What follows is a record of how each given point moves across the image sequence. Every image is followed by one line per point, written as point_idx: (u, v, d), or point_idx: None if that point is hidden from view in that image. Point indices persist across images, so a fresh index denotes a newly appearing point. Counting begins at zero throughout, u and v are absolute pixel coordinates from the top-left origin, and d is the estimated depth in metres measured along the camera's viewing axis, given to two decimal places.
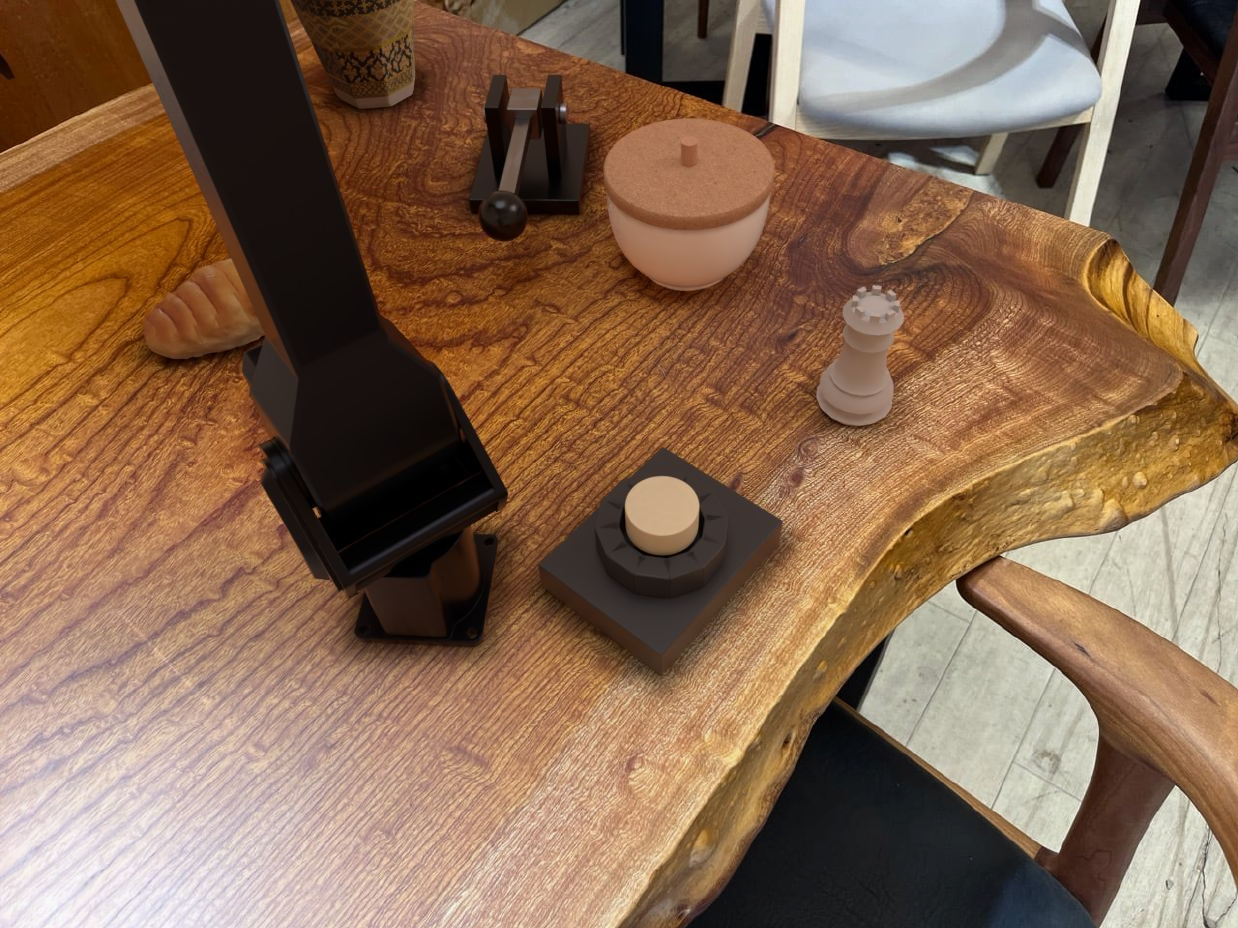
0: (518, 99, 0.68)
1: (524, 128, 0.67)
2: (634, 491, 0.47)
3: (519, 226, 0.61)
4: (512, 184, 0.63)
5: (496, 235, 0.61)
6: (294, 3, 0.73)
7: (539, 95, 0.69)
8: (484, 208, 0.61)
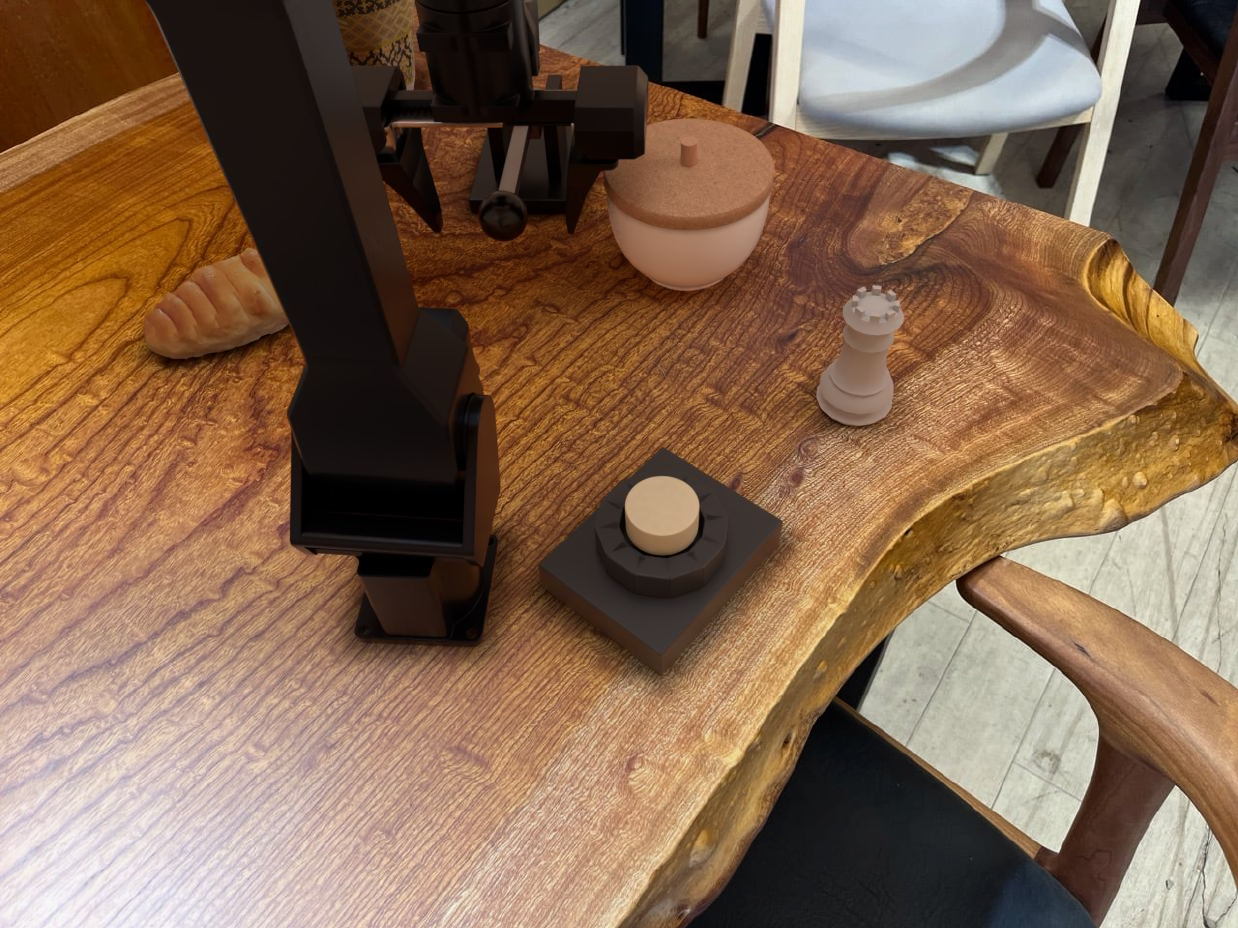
0: None
1: (524, 128, 0.67)
2: (634, 491, 0.47)
3: (519, 226, 0.61)
4: (512, 184, 0.63)
5: (496, 235, 0.61)
6: None
7: None
8: (484, 208, 0.61)
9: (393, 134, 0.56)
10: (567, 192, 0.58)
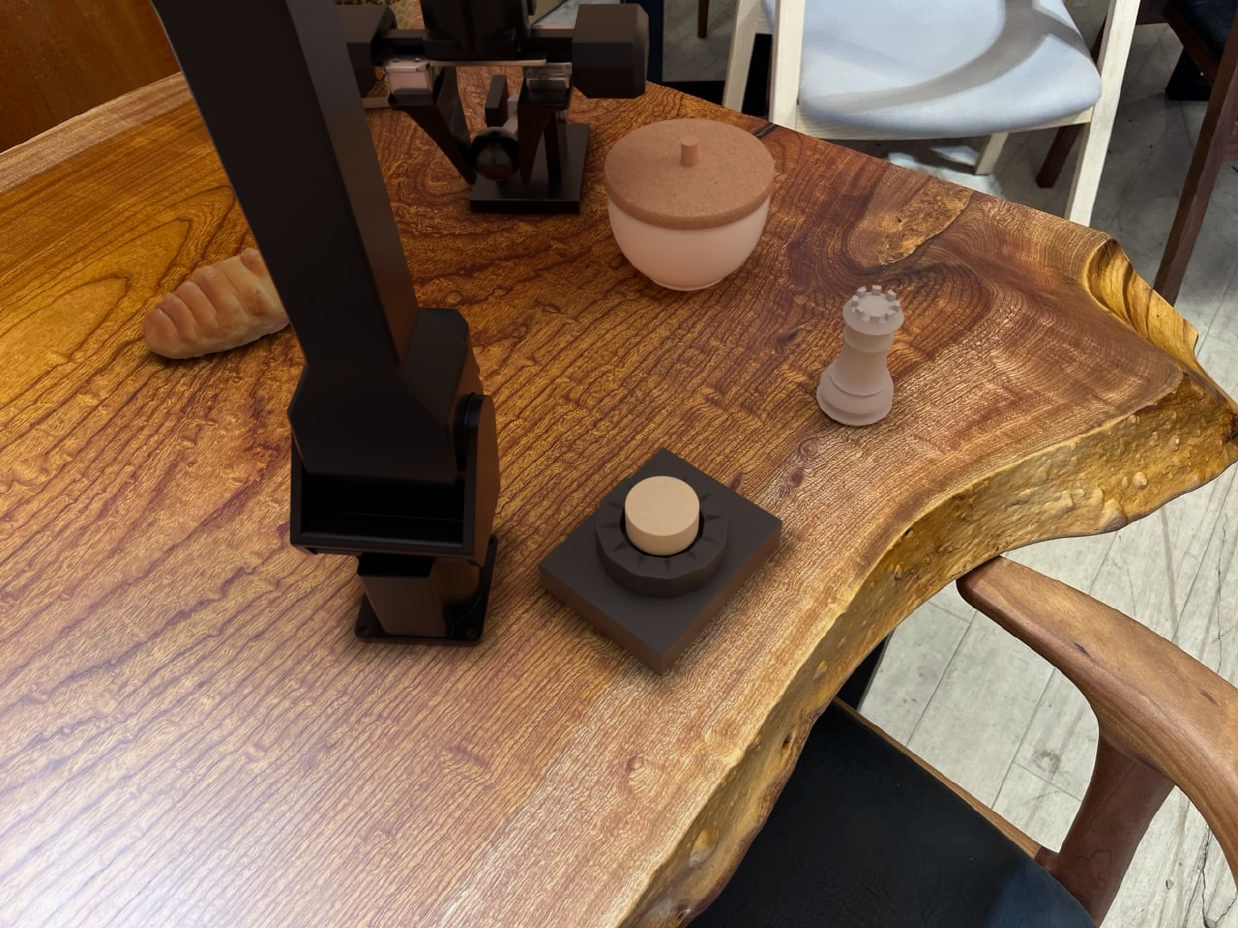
0: None
1: None
2: (634, 491, 0.47)
3: (512, 158, 0.58)
4: None
5: (488, 166, 0.58)
6: None
7: None
8: (477, 138, 0.58)
9: (430, 74, 0.53)
10: (519, 137, 0.56)
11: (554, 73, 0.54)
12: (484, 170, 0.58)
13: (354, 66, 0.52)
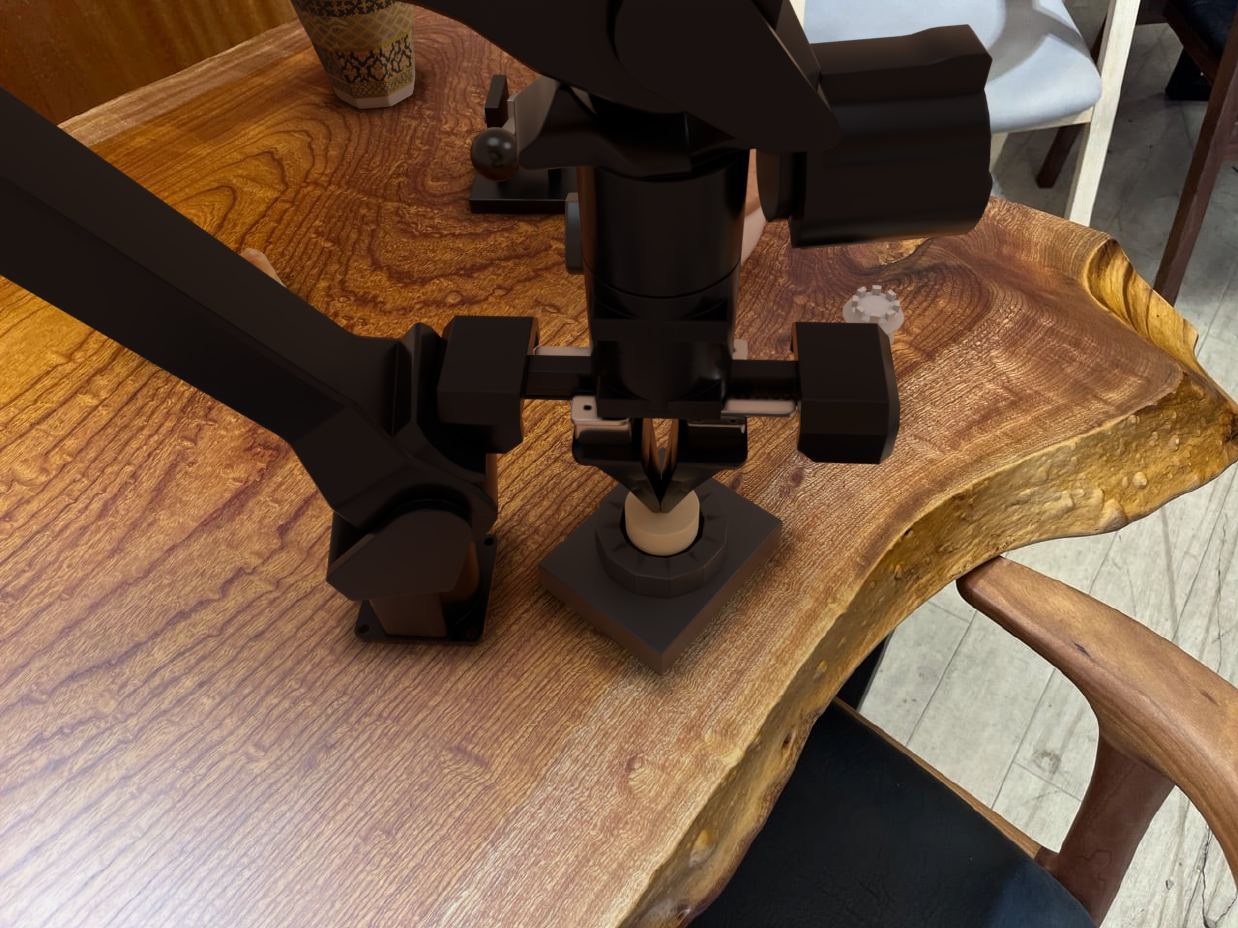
0: None
1: None
2: None
3: (512, 159, 0.58)
4: None
5: (488, 167, 0.58)
6: (294, 3, 0.73)
7: None
8: (477, 138, 0.58)
9: (632, 421, 0.39)
10: (670, 483, 0.42)
11: (726, 416, 0.40)
12: (484, 171, 0.58)
13: (497, 423, 0.38)
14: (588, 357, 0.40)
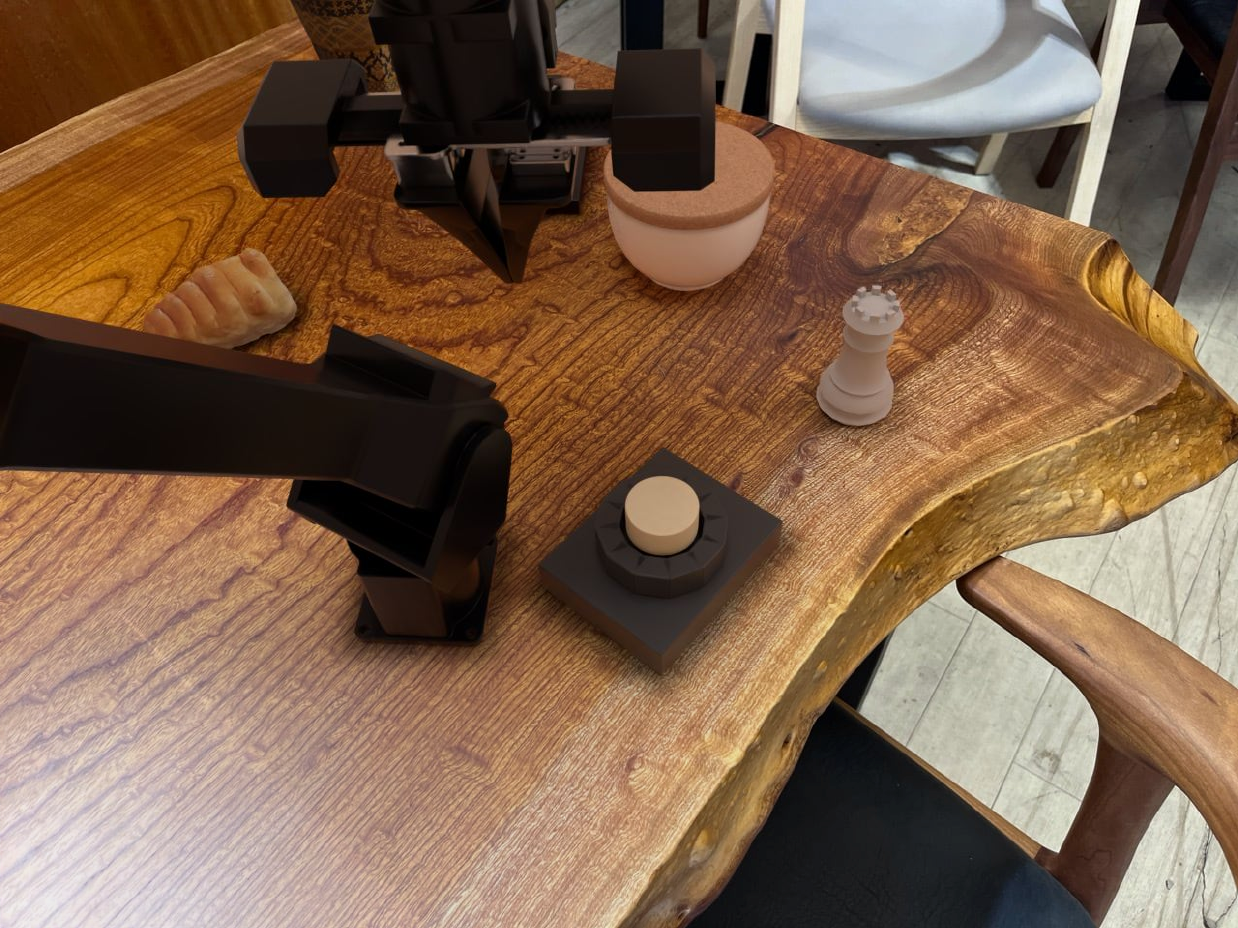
0: None
1: None
2: (634, 491, 0.47)
3: None
4: None
5: None
6: (294, 3, 0.73)
7: None
8: None
9: (451, 159, 0.38)
10: (504, 235, 0.41)
11: (549, 153, 0.39)
12: None
13: (306, 157, 0.37)
14: None
